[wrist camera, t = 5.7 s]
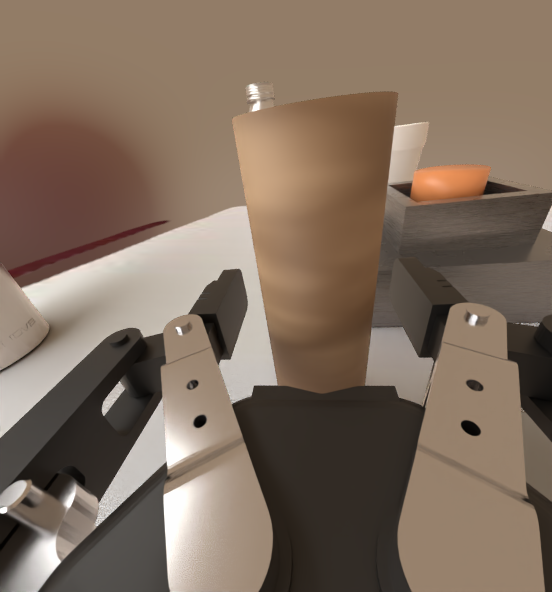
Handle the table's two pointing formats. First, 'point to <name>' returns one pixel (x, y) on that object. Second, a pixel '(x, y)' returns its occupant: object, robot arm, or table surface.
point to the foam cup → (406, 151)
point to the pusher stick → (318, 229)
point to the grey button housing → (473, 247)
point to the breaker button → (449, 182)
